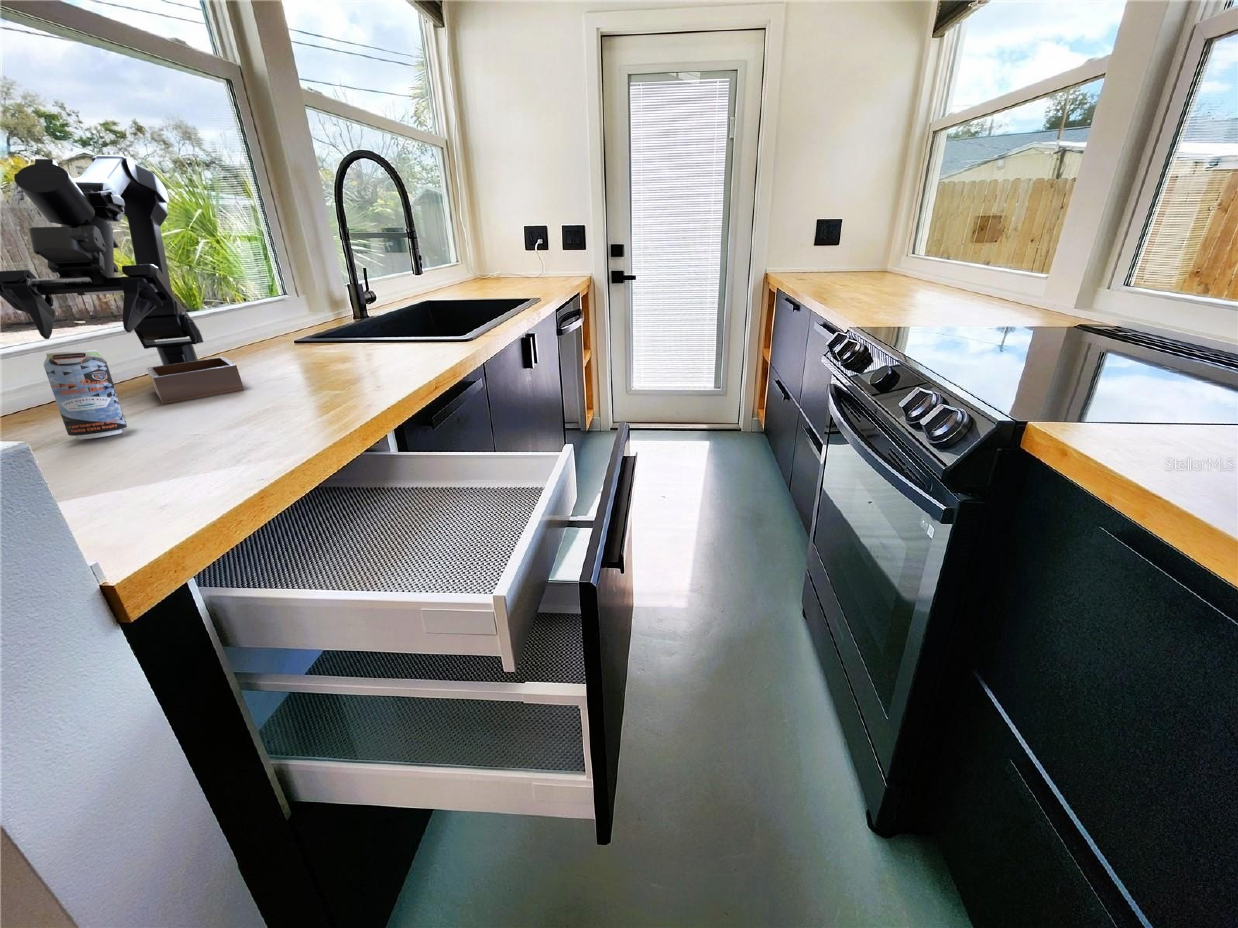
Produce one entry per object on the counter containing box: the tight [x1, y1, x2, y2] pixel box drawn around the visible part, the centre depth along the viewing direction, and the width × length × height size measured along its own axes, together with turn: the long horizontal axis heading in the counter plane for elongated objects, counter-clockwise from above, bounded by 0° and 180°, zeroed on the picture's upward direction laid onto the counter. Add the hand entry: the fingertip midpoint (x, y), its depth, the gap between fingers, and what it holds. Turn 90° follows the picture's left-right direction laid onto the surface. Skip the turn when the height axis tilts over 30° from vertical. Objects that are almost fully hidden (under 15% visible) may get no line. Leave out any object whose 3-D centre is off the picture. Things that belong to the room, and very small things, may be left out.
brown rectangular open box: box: [146, 356, 245, 405], centre depth 96 cm, size 12×12×4 cm
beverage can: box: [43, 349, 128, 440], centre depth 72 cm, size 6×7×12 cm
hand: (86, 333), depth 76 cm, fingers open, 9 cm apart
